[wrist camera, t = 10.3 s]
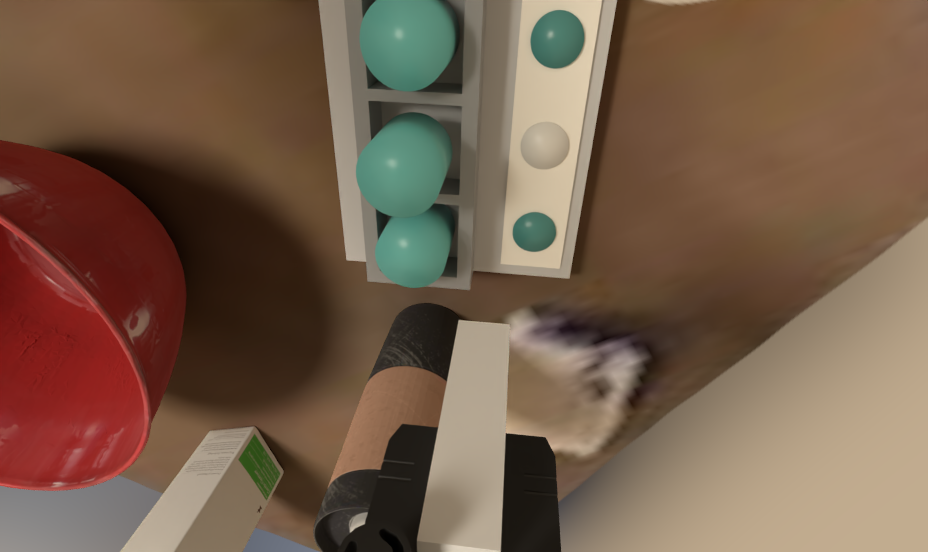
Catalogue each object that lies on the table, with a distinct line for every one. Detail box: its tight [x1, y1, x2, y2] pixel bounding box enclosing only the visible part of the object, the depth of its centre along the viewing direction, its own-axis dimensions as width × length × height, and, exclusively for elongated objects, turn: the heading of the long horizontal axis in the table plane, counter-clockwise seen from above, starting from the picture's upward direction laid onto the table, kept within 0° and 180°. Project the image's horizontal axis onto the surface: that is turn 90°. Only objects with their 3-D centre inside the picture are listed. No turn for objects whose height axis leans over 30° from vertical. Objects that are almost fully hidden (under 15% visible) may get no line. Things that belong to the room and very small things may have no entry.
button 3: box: [375, 203, 455, 288], centre depth 35 cm, size 5×5×5 cm
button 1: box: [360, 0, 460, 92], centre depth 28 cm, size 5×5×5 cm
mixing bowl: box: [0, 140, 186, 491], centre depth 38 cm, size 28×28×16 cm
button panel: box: [318, 0, 617, 290], centre depth 34 cm, size 21×18×5 cm
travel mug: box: [313, 303, 461, 552], centre depth 38 cm, size 8×8×20 cm
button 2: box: [356, 112, 453, 218], centre depth 29 cm, size 5×5×5 cm
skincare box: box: [121, 426, 284, 552], centre depth 52 cm, size 8×7×16 cm
